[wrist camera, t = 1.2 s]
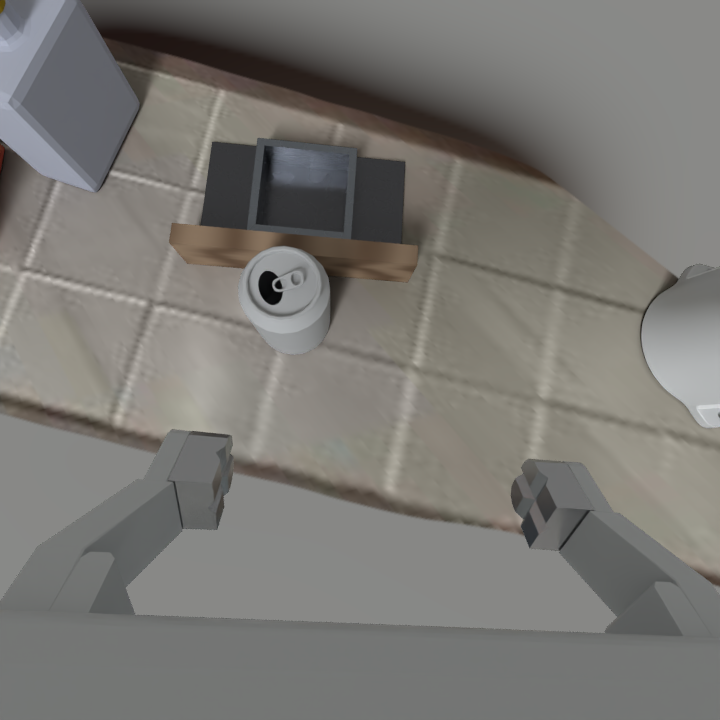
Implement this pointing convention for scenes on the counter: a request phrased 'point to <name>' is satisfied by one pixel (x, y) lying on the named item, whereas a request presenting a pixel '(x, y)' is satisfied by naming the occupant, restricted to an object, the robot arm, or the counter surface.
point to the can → (286, 298)
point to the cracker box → (1, 155)
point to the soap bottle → (61, 91)
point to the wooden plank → (330, 252)
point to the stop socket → (304, 191)
